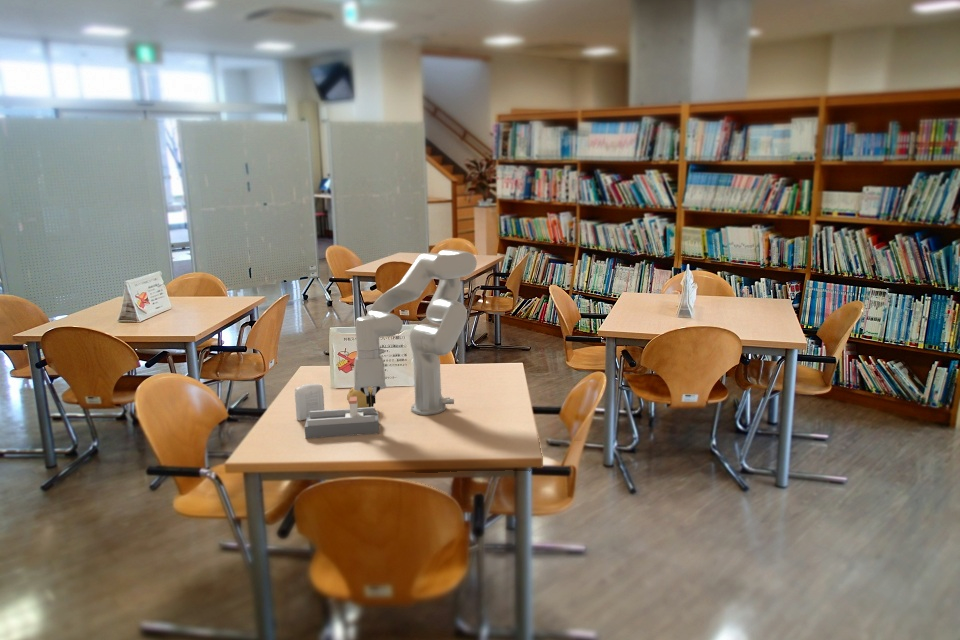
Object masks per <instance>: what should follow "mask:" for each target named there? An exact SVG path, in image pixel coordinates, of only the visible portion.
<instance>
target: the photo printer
mask: <svg viewBox="0 0 960 640" xmlns="http://www.w3.org/2000/svg"><path fill="white" fill-rule="evenodd" d="M294 397H295V398H294V401H295V413H296V414H295V415H296V420H297V421H306V420H307V416H310V411H320V410H325V396H324V386H323V384H321V383H317V382H316V383H315V382H310V383H305V384H303V385H300V386H298V387H296V388H295V390H294Z"/></svg>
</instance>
